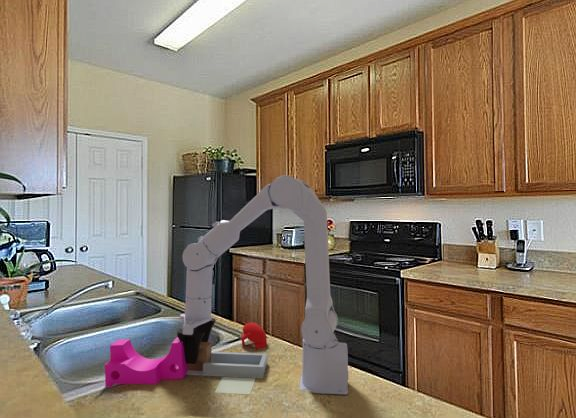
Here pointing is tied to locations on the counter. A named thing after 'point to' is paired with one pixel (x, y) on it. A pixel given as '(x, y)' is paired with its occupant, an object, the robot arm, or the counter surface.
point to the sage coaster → (235, 385)
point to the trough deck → (234, 365)
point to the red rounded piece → (254, 335)
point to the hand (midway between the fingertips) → (196, 356)
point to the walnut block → (202, 357)
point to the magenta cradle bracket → (143, 365)
